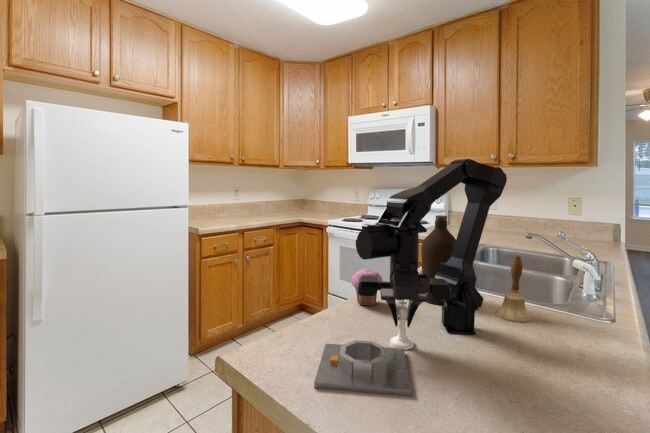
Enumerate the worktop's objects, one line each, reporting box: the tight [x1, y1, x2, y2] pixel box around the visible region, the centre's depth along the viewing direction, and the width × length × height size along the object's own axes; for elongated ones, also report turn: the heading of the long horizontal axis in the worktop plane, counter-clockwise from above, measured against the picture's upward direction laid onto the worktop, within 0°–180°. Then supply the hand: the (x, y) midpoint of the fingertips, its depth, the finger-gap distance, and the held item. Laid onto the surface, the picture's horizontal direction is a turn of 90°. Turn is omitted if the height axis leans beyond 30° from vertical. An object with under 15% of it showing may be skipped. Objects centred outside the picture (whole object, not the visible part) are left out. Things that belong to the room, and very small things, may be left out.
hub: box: [313, 339, 412, 397], centre depth 63 cm, size 16×14×4 cm
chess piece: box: [389, 300, 415, 351], centre depth 73 cm, size 5×5×10 cm
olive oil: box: [420, 214, 457, 306], centre depth 100 cm, size 11×11×25 cm
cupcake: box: [350, 268, 383, 306], centre depth 97 cm, size 9×9×10 cm
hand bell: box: [495, 255, 533, 323], centre depth 88 cm, size 8×8×16 cm
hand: (402, 326), depth 73 cm, fingers closed on chess piece, 2 cm apart
